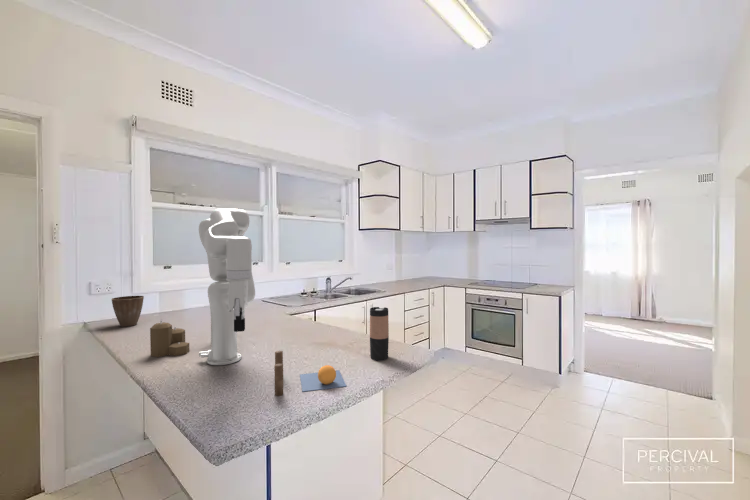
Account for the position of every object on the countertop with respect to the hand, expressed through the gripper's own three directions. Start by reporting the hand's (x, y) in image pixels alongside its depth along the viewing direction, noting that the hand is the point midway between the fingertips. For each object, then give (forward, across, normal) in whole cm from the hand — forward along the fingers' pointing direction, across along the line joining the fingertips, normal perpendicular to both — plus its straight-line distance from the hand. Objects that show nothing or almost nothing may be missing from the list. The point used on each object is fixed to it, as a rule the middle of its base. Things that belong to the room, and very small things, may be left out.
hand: (239, 330), depth 110 cm
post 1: (+18, -2, +12) cm, 22 cm away
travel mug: (+18, -12, +51) cm, 56 cm away
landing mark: (+18, +4, +27) cm, 32 cm away
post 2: (+18, +11, +13) cm, 24 cm away
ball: (+14, +7, +28) cm, 32 cm away
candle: (+20, -43, -33) cm, 58 cm away
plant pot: (+22, -103, -72) cm, 128 cm away
